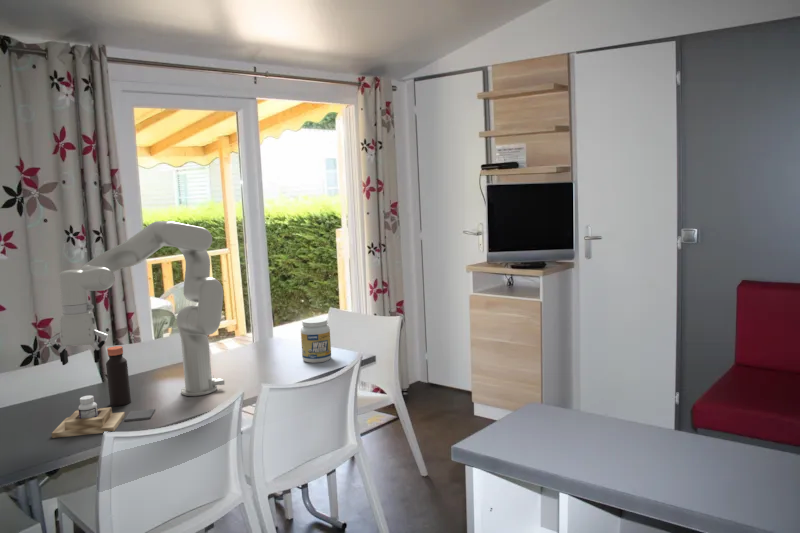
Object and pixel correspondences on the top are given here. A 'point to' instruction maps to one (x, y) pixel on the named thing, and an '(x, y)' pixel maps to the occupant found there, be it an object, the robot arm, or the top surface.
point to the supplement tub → (315, 340)
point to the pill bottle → (87, 407)
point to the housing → (89, 423)
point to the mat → (139, 415)
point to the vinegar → (117, 377)
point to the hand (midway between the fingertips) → (81, 362)
